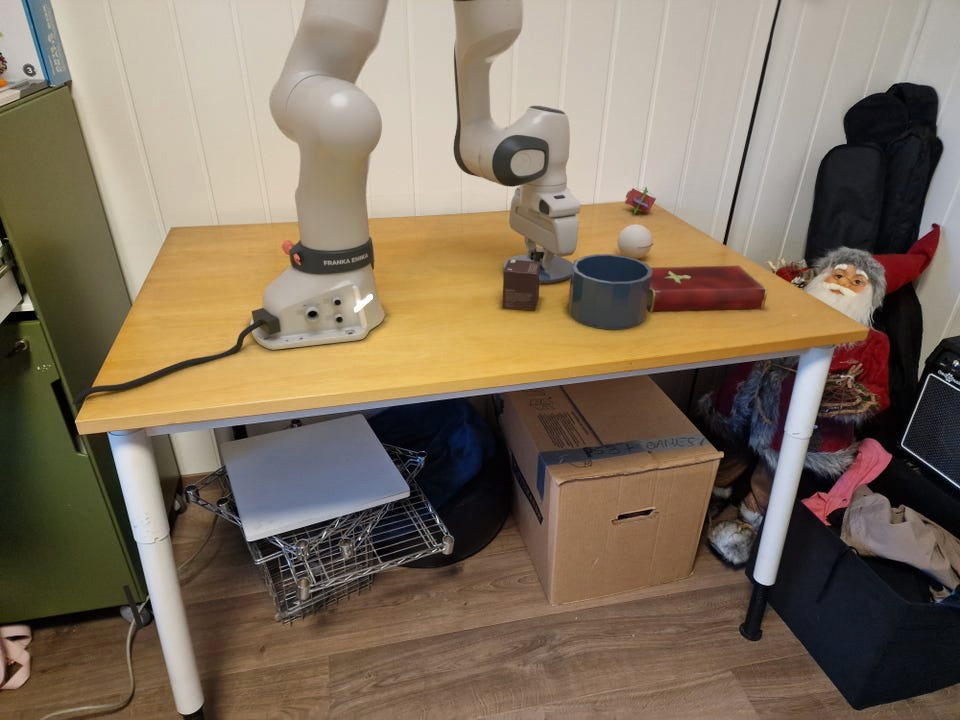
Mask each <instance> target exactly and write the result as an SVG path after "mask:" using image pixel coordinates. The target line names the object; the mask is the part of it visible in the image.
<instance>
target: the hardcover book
mask: <svg viewBox="0 0 960 720" xmlns="http://www.w3.org/2000/svg"><path fill="white" fill-rule="evenodd" d="M650 268H651V269H652V270H653V273H652V279H651V286H650V292H649V299H648V306H647V311H648V312H649V313H656V312H657V313H658V312H659V313H661V312H688V311H689V312H692V311H693V312H694V311H696V312H697V311H699V312H700V311H733V310H737V311H738V310H762V309H764V307H765V303H766V300H767V295H768V287H766V286H765V285H763V284H762V283H761V282H760V281H759V280H757V279H756V278H755V277H754V276H753V275H752V274H750V273H749V272H748V271H747V270H746V269H744V268H743V267H742V266H741V265H739V264H737V265H693V266H692V265H691V266H650Z"/></svg>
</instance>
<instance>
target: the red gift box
mask: <svg viewBox="0 0 960 720" xmlns="http://www.w3.org/2000/svg"><path fill="white" fill-rule="evenodd" d="M640 188H641V189H640ZM640 188H637V189H636V188H633V187H632V188H631V189H630V190H628V191H627V192H626V195H625V200H624V204H625V205H627V206H629V207H628V209H629V210H631V211H632V214H633V215H634V216H636V215H639V213H640V214H641V213H643V214H649V213H650V211H651V209H652V207H653V206H654V204H655V202H656V200H657V198H656V197H655V196H654V195H653V194H652V192H650V195H651V196H650V195H649V190H648V187H647V186H645V187H640ZM642 191H643V192H642ZM630 206H631V207H630Z"/></svg>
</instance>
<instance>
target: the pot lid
mask: <svg viewBox="0 0 960 720" xmlns="http://www.w3.org/2000/svg"><path fill="white" fill-rule="evenodd" d="M544 254H545V253H544V252H543V247H536V248H535V249H534V260H530V259H529V258H527V253H526V254H525V253H524V254H518V255H515V256H512V257H509V258H508V259H506V260H505V261H504V263H503V265H502V266H503V267H502V269H503V270H504V269H505V267H506V264H507V262H508V260H522V261H536V262H540V258H543V257H544ZM540 263H541V262H540ZM573 263H574V262H572V261H570V260H568V259H566V258H564V257H558V256H556V255H554V257H553V259H552V263H551V267H550V268H546V269H545V268H543V267H542V266H540V281H539V284H540V283H545V284H546V283H548V284H549V283H556V282H561V281H564V280H567V279H570V278H571V267H572V265H573Z"/></svg>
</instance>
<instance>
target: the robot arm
mask: <svg viewBox="0 0 960 720" xmlns="http://www.w3.org/2000/svg"><path fill="white" fill-rule="evenodd" d="M452 3H453V12H454V27H455V40H454V48H453V70H454V86H455V88H454V89H455V103H456V119H457V120H456V128H455V134H454V139H453V157H454V159H455V162H456V164H457V166H458V168H459V169H460V170H461V171H462V172H464V173H465V174H467V175H470V176H473V177H477V178H481V179H484V180H487V181H489V182H492V183H496V184H497V185H500V186H503V187H512V188H513V187H516V188H515V190H514V195H513V197H512V198H511V202H510V208H509V218H508V219H509V220H508V223H509V227H510V229H511V230H513V231H514V232H516V233H518V234H519V235H521V236H523V237H524V244H525V247H526V254H527V258H529V259H530V260H534V249H535V248H537V246H539V247H540V248H543V252H544V253H545V254H544V257H543V258H540V262H541V263H540V266H542V267H543V268H545V269H546V268H550V267H551V263H552V259H553V257H554V256H558V257H561V258H563V257H567V256H572V255H574V253H575V252H576V250H577V247H578V239H579V238H578V237H579V219H578V216H577V214H580V213H581V202H580V201H579V200H578V199H577V198H576V197H575V196H574V194H573V193H572V191H571V190H570V189H569V187H567V186H568V185H567V184H568V176H567V171H566V170H567V163H568V161H569V157H570V146H571V145H570V144H571V143H570V142H571V141H570V140H571V133H570V132H571V131H570V129H571V128H570V122H569V121H570V120H569V118H568V115H567V114H566V113H565V111H563V110H561V109H557V108H553V107H548V106H543V105H531V106H528V107H527V109H526V111H525V113H523V115H522V116H520V117H519V118H518V119H517V120H516V121H514V122H512V123H511V124H509V125H506V126H504V127H502V126H499V125H497V124H496V122H495V121H494V119H493V117H492V113H491V89H490V88H491V87H490V74H491V73H490V72H491V69H492V66H493V64H494V62H495V61H496V60H497V58H499V57H501V55H503V54H505V53H506V52H508V51H509V50H510V49H511V48H512V47H513V46H514V44H515V43H516V42H517V41H518V39H519V37H520V36H521V34H522V31H523V24H524V16H525V15H524V14H525V13H524V12H525V11H524V0H452ZM389 4H390V0H305V1H304V6H303V11H302V14H301V18H300V22H299V25H298V28H297V31H296V33H295V36H294V39H293V41H292V44H291V46H290V49H289V51H288V54H287V56H286V58H285V62H284V64H283V67H282V69H281V72H280V75H279V77H278V80H277V81H276V82H275V83H274V85H273V86H272V88H271V90H270V93H269V98H268V106H269V111H270V115H271V117H272V119H273V121H274V123H275V124H276V126H277V128H278V129H279V131H280V132H281V133H282V134H283V135H284V137H286V138H287V139H288V140H290V141H291V142H293V143H295V144H297V146H298V150H299V175H298V183H297V187H296V189H295V191H294V202H295V209H296V216H297V224H298V232H299V233H298V234H299V240H298V241H297V242H296V243H295V244H294V242H292V241H291V240H289V239H288V240H284V241H282V244H281V249H282V251H283V252H284V254H285V255H287V256H289V261H290V265H289V266H288V267H287V268H286V269H285V270H284V271H282V273H280V274H279V275H278V276H277V277H276V278H274V279H273V280H272V281H271V282H270V283H269V284H268V285H267V286H266V287H265V289H264V290H263V293H262V299H261V300H262V301H261V307H260V308H258V309H255V310H252V311H251V318H250V323H249V324H250V325H248V326H247V327H246V328H244V329H243V330H242V331H241V332H240V333H239V335H238V337H237V340H236V343H235V345H234V346H233V347H231V348H229V349H228V350H226V351H223V352H221V353H218V354H214V355H207V356H201V357H194V358H189V359H185V360H183V361H180V362H177V363H174V364H172V365H168V366H166V367H164V368H161V369H158V370H157V371H153V372H151V373H149V374H146V375H144V376H141V377H139V378H135V379H132V380H130V381H126V382H123V383H117V384H106V385H104V384H103V385H96V386H91V387H88V388H86V389H84V390H82V391H81V392H80V393H78V395H77V396H75V398H74V399H73V400H72V405H78V404H81V403H82V402H83V401H84V400H85V399H86V398H87V397H89V396H90V395H93V394H96V393H105V392H106V393H107V392H117V391H124V390H127V389H128V390H129V389H131V388H134V387H137V386H139V385H142V384H145V383H147V382H150V381H152V380H155V379H158V378H160V377H162V376H165V375H167V374H169V373H173V372H175V371H177V370H180V369H183V368H186V367H189V366H194V365H198V364H203V363H204V364H205V363H209V362H213V361H216V360H219V359H223V358H226V357H230V356H232V355H234V354H236V353H237V352H238V351H240V350H241V349H242V347H243V344H244V341H245V338H246V337H247V336H248V335H249V334H250V333H251V336H252V337H253V339H254V340H255V341H256V342H257V344H259V345H260V346H261V347H263V348H266V349H268V350H271V351H272V350H284V349H294V348H302V347H311V346H319V345H320V346H321V345H329V344H335V343H336V344H337V343H345V342H355V341H360V340H361V341H362V340H363V339H365V338H366V337H367V336H368V334H369V333H370V331H371V330H372V329H374V328H376V327H377V326H378V325H380V324H382V323H383V320H385V316H386V315H385V310H384V308H383V305H382V302H381V300H380V296H379V293H378V289H377V288H378V287H377V284H376V279H375V275H374V274H375V273H374V269H375V248H374V243H373V239H372V237H371V236H370V229H369V228H370V227H369V215H368V213H369V212H368V199H367V197H368V196H367V194H368V193H367V191H368V189H367V188H368V178H369V171H370V165H371V158H372V154H373V152H374V150H375V149H376V148H377V146H378V144H379V142H380V140H381V137H382V131H383V121H382V116H381V113H380V110H379V108H378V106H377V104H376V102H374V100H373V99H372V98H371V97H370V96H369V95H368V93H366V92H364V91H363V89H361V88H360V87H359V86H358V85H356V83H357V81H358V80H359V77H360V75H361V72H362V71H363V69H364V67H365V65H366V63H367V61H368V60H369V59H370V57H371V56H372V55H373V54H374V53H375V51H376V50H377V49H378V46H379V44H380V41H381V38H382V34H383V29H384V25H385V21H386V16H387V13H388V9H389V6H390V5H389ZM121 587H122V590H123V593H124V596H125V598H126V600H127V602H128V604H129V608H130V611H131V613H132V616H133V619H134V622H135V625H136V627H137V630H142V629H144V628H145V627H144V624H143V620H142V617H141V614H140V611H139V608H138V606H137V603H136V600H135V598H134V595H133V593H132V590H131V588H130V585H129V584H126V585H123V586H121Z"/></svg>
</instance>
